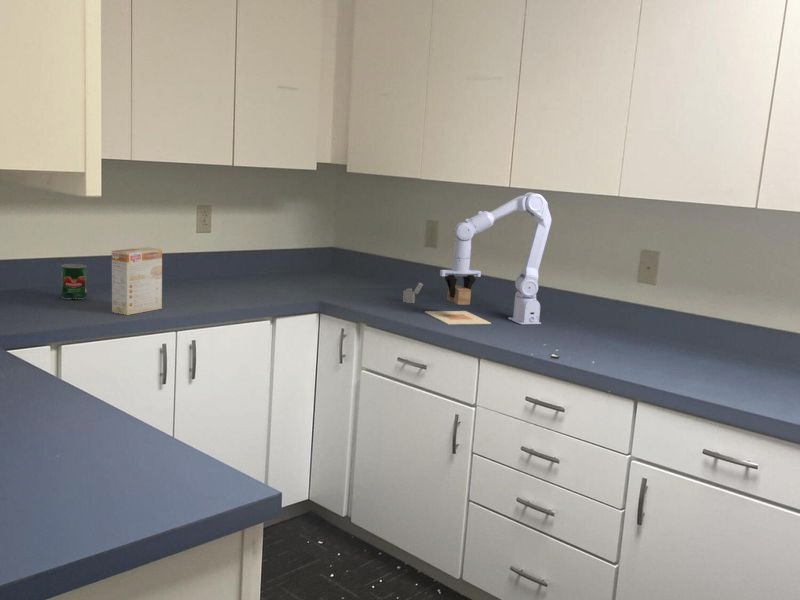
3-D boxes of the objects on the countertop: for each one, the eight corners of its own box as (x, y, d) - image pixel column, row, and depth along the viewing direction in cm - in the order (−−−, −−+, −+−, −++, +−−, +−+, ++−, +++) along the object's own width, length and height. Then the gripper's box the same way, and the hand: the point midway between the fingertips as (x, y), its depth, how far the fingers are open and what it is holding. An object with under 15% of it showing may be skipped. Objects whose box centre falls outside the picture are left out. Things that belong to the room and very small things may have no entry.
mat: (491, 323, 270) (491, 322, 269) (447, 324, 264) (447, 323, 264) (465, 311, 288) (465, 310, 288) (424, 312, 282) (424, 311, 282)
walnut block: (447, 299, 278) (448, 285, 277) (458, 299, 280) (459, 285, 279) (457, 304, 270) (459, 289, 269) (469, 304, 272) (471, 289, 271)
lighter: (402, 302, 299) (404, 281, 298) (404, 301, 301) (405, 280, 299) (420, 304, 296) (421, 283, 295) (421, 304, 298) (423, 282, 297)
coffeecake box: (146, 305, 262) (147, 246, 259) (162, 309, 259) (163, 249, 256) (110, 312, 249) (110, 250, 246) (127, 315, 246) (127, 252, 243)
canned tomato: (68, 301, 262) (68, 267, 260) (56, 297, 267) (56, 264, 265) (91, 298, 268) (91, 266, 266) (79, 295, 273) (79, 263, 271)
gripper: (475, 256, 278) (472, 295, 281) (437, 255, 273) (434, 295, 276) (484, 259, 272) (481, 298, 274) (445, 258, 267) (442, 298, 269)
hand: (458, 297), depth 275 cm, fingers closed on walnut block, 4 cm apart
